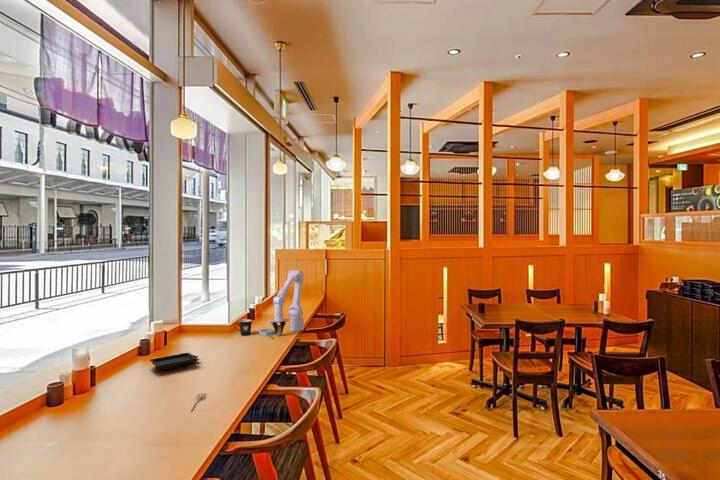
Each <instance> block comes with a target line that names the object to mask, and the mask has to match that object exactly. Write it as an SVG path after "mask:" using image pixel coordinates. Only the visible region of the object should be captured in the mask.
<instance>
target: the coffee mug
mask: <svg viewBox="0 0 720 480" xmlns="http://www.w3.org/2000/svg"><path fill="white" fill-rule="evenodd" d="M252 323H253V320H252V319H249V318H248V319H247V318H245V319H240V320H239V321H238V322H235V323H234V324H233V328H234V329H235V330H237V331H238V332H240V336H242V337H248V336H250V335H251V331H252ZM235 325H238V326H239V328H237V327H236V326H235Z"/></svg>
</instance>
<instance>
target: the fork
mask: <svg viewBox="0 0 720 480" xmlns="http://www.w3.org/2000/svg"><path fill="white" fill-rule="evenodd" d="M205 394H207V393H206V392H203V393H202V392H200V393H197V394H196V396H195V397H196V401H195V402H194V403H198V402H199V401H200V399H201V398H202V397H204V395H205Z"/></svg>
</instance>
